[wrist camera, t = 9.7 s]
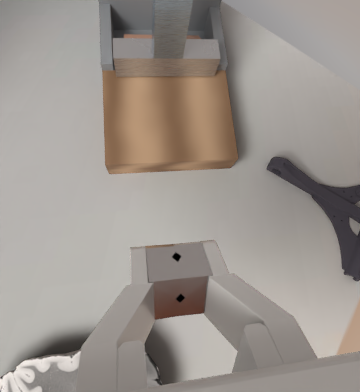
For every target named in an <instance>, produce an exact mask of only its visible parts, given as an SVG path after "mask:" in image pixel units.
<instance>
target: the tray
mask: <svg viewBox="0 0 360 392" xmlns="http://www.w3.org/2000/svg"><path fill="white" fill-rule="evenodd" d="M220 3H221V0H193V3H192V9H191V14H190V20H189V26H188V32H187V35H196V36H199V37H200V38H201V39H218V44H219V51H220V58H221V59H220V62H219V64H218V67H217V70H226V68H227V65H228V62H227V55H226V48H225V42H224V35H223V28H222V22H221V15H220V8H219V7H220ZM99 15H100V48H101V66H102V70H115V65H114V59H113V38H124V34H136V35H152V16H153V0H99Z"/></svg>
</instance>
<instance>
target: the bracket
mask: <svg viewBox="0 0 360 392" xmlns="http://www.w3.org/2000/svg"><path fill="white" fill-rule="evenodd" d="M276 169H277V170H276ZM267 170H269V171H271V172H272V173H274V174H276V175H278V176H279V177H281V178H283V179H284V180H286V181H288V182H290V183H291V184H293V185H295V186H297V187H298V188H300V189H302V190H304V191H305V192H307V193H309V194H310V195H312V198H313V199H314V200H315V201H316V202H317V203H318V204H319V205H320V206H321V207H322V209H323V210H324V211H325V213H326V214H327V215H328V217H329V218H330V220H331V222H332V224H333V226H334V229H335V231H336V234H337V237H338V241H339V245H340V250H341V259H342V269H344V270H345V272H344V274H345V275H350V276H353V277H354V278H353V279H354V280H355V281H359V280H360V231H359V234H358V236H356V235H355V234H354V233H353V232H352V230H351V228H350V225H349V217H350V218H352V219H354V220H355V221H357V222H358V223H360V208H359V207H357V206H355V203H356V202H358V201H360V185H358V186H354V187H350V188H335V187H330V186H326V185H322V184H318V183H317V182H315V181H314V180H312V179H311V178H309V177H308V176H307V175H306V174H304V173H303V172H302V171H300V170H299V169H298V168H297V167H295V166H294V165H293V164H292V163H291V162H290V161H289V160H287V159H285V158H281V157H274V158H272V159H271V161H270V163H269V165H268V167H267ZM278 170H279V171H278Z"/></svg>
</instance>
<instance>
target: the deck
mask: <svg viewBox="0 0 360 392" xmlns="http://www.w3.org/2000/svg"><path fill="white" fill-rule="evenodd" d="M102 72H103V105H104V137H105V165H106V168H107V170H108V172H109V174H121V173H141V172H161V171H181V170H202V169H222V168H231V167H232V166H233V164H234V163H235V162H236V161H237V160H238V153H237V146H236V139H235V133H234V126H233V119H232V112H231V105H230V98H229V91H228V84H227V78H226V71H225V70H216V73H215V76H145V77H116V71H115V70H102Z"/></svg>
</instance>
